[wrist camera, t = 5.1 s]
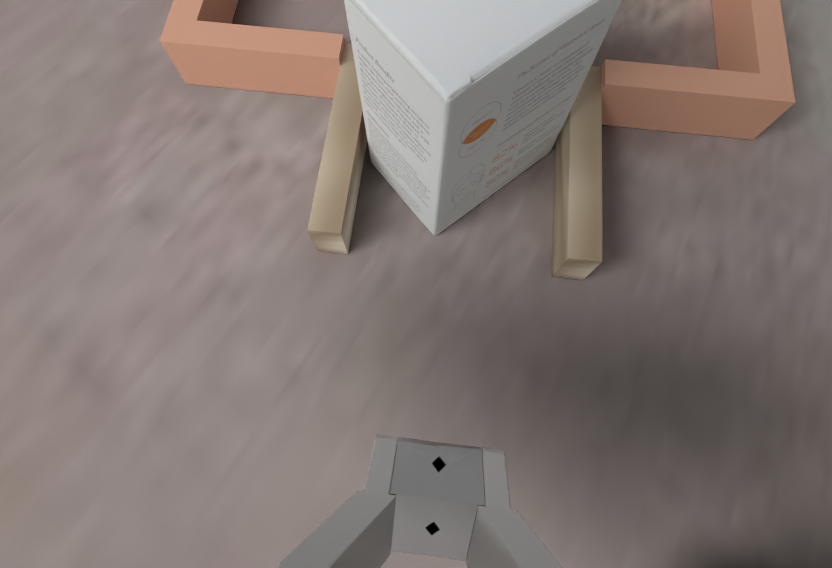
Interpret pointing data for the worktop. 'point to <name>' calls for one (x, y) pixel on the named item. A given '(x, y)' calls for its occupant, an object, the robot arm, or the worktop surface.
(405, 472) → the robot arm
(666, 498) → the worktop surface
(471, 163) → the small box
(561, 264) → the trap lane
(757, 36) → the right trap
